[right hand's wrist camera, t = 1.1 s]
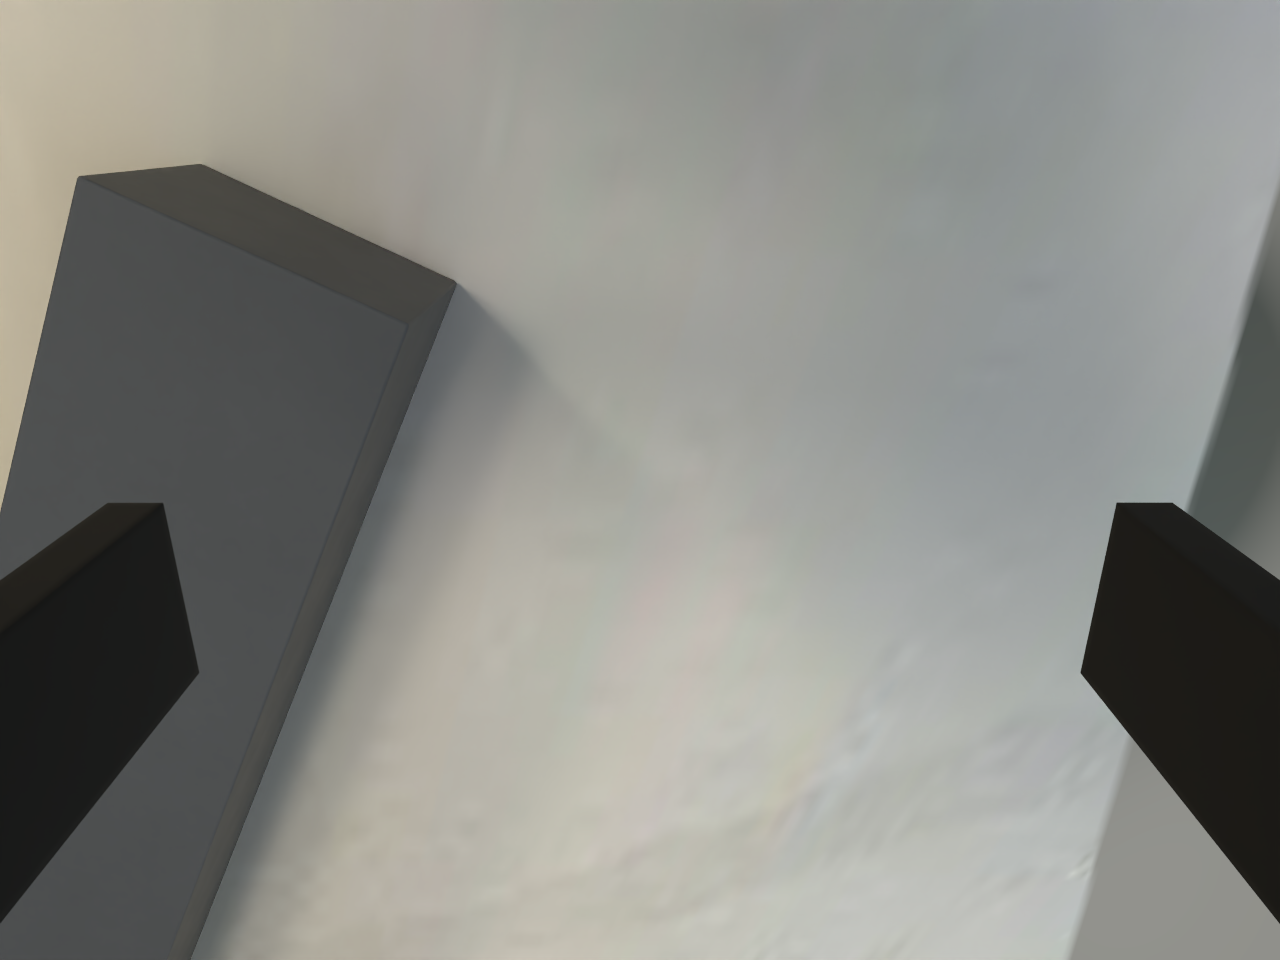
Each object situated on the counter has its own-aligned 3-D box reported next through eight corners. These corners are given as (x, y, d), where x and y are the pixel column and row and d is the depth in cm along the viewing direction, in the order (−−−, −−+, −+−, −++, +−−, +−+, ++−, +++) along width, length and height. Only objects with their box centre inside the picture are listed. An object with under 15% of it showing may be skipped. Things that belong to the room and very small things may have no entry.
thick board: (199, 163, 30) (76, 174, 23) (457, 281, 31) (409, 324, 25) (-101, 1247, 52) (-208, 1411, 45) (60, 1288, 53) (-22, 1453, 47)
